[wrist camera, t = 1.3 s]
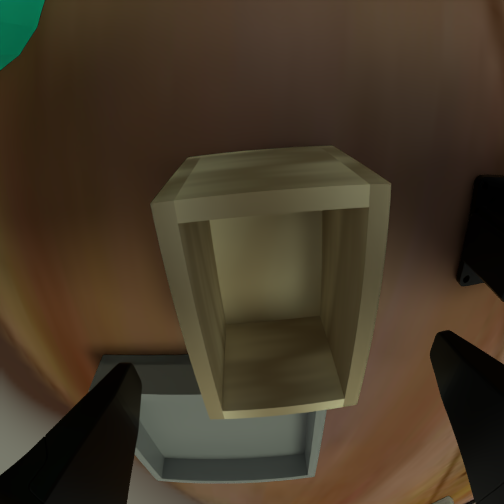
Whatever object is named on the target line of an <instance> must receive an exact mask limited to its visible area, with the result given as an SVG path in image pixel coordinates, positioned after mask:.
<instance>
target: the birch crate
mask: <svg viewBox="0 0 504 504" xmlns="http://www.w3.org/2000/svg"><path fill="white" fill-rule="evenodd" d="M390 197H391V183H389V182H388V181H387V180H385V179H384V178H382V177H381V176H379V175H378V174H376V173H375V172H373V171H372V170H370V169H369V168H367V167H366V166H364V165H363V164H361V163H360V162H358V161H356V160H355V159H353V158H352V157H350V156H349V155H347V154H345V153H344V152H342V151H341V150H339V149H337V148H336V147H334V146H332V145H330V146H306V147H288V148H273V149H260V150H249V151H238V152H228V153H219V154H210V155H202V156H194V157H188V158H187V159H186V160H185V161H184V162H183V164H182V165H181V166H180V167H179V168H178V170H177V171H176V172H175V173H174V174H173V176H172V177H171V178H170V179H169V181H168V182H167V183H166V184H165V186H164V187H163V188H162V189H161V191H160V192H159V193H158V194H157V196H156V197H155V198H154V200H153V201H152V202H151V203H150V205H151V210H152V214H153V219H154V224H155V228H156V233H157V237H158V242H159V246H160V250H161V255H162V259H163V263H164V267H165V271H166V275H167V279H168V283H169V287H170V291H171V295H172V298H173V302H174V306H175V310H176V313H177V317H178V320H179V324H180V327H181V331H182V334H183V338H184V341H185V345H186V348H187V351H188V354H189V358H190V361H191V364H192V367H193V370H194V374H195V377H196V380H197V383H198V386H199V389H200V392H201V395H202V398H203V401H204V404H205V407H206V410H207V412H208V415H209V418H210V420H211V419H238V418H255V417H268V416H279V415H289V414H297V413H305V412H313V411H320V410H327V409H333V408H339V407H345V406H351V405H356V404H357V402H358V398H359V394H360V390H361V386H362V382H363V378H364V374H365V369H366V365H367V360H368V356H369V351H370V346H371V341H372V336H373V331H374V326H375V320H376V315H377V309H378V303H379V297H380V290H381V283H382V276H383V269H384V261H385V253H386V244H387V234H388V223H389V211H390Z"/></svg>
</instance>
